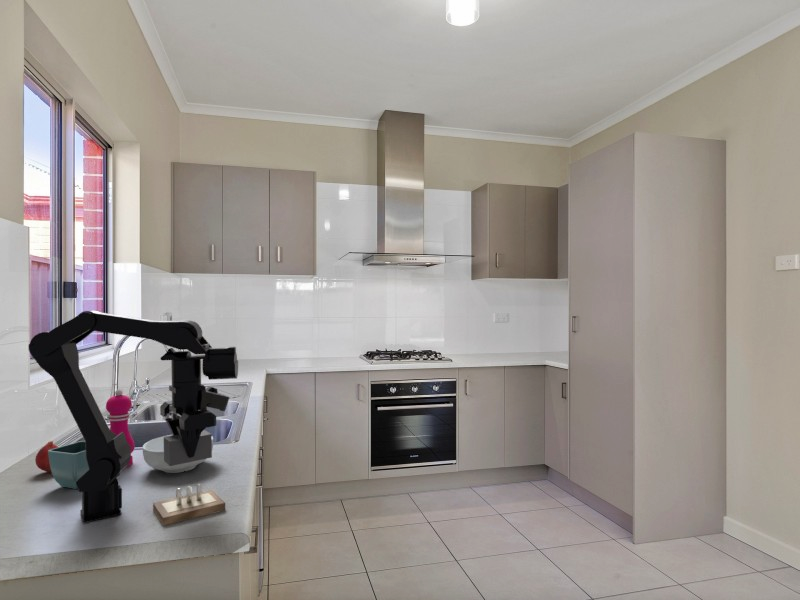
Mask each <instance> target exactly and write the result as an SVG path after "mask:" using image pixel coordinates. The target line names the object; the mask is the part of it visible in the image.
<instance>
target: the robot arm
mask: <svg viewBox="0 0 800 600" xmlns="http://www.w3.org/2000/svg"><path fill="white" fill-rule="evenodd" d="M94 332H99V333H100V332H101V333H106V334H115V335H119V336H120V335H121V336H128V337H132V338H133V337H135V338H140V339H141V338H142V339H147V340H151V341H155V342H157V343H159V344H162V345H165V346H167V347H170V348H168V349H167V351H166V352H165V353H164V354H163V355H162V356H161V357H160V359H159V360H161V361H171V385H170V384H169V385H168V391H169V392H171V400H167V401H164V402H163V403H162V404H160V406H159V407H160V408H159V409H160V410H159V412H160V413H159V414H160V416H162V417H163V418H164V417H167V415H168V417H167V418H164V420H165V423H166V424H167V427H168V428H169V430H170V432H171V435H178V434H179V436H180V438H181V441H182V443H183V446H184V448H185V451H186V453H187V456H188V457H189V458H191V457H194V455H195V451H196V448H197V444H198V441H199V437H200V435H201V432H202V431H203V430H205V429H207V428H211V427H215V426H217V416H216V414H214V413H213V412H212V411H209V410H208V408H210V409H216V410H219V411H220V412H221V411H222V412H226V410H227V406H228V403H229V400H230V397H229V396H228V395H225V394H222V393H219V392H218V388H216V387H213V386H207V388H206V386H205V384H202V374H203V375H204V376H205V377H207V378H208V380H213V381H214V380H235V379H236V380H237V379H238V375H239V360H238V354H237V347H236V346H227V347H212V345H211V344H210V343H209V342H208V340H207V339H206V338H205V336H203V330H202V327H201V326H200V324H199V323H197V322H196V321H193V320H152V319H146V318H140V317H139V318H138V317H132V316H131V317H130V316H125V315H119V314H112V313H107V312H101V311H98V310H84V311H81V312H80V313H78V314H77V316H75V317H73V318H71V319H69V320H67V321H65V322H63V323H62V324H60V325H58V326H57V327H55V328H53V329H52V330H49V331H48V330H47V331H43V332H39V333H37V334H35V335H34V336H33V337H32V338H31V339H30V342H29V344H28V351H29V355H31V357H32V358H33V360H34V361H35V362H36V363H37V364H38V365H39V367H40V368H41V369H42V370H44V372H46V373H47V374H48V375H49V376H51V377H52V378H53V379H54V381H55V383H56V386H57V387H58V389H59V391H60V394H61V396H62V397H63V399H64V401H65V404H66V405H67V407H68V410H69V412H70V415H72V417H73V420H74V421H75V423H76V425H77V428H78V430H79V431H80V433H81V435H82V437H83V441H85V443H86V460H87V464H88V467H89V470H88V471H87V472H86V473H85V474H84V475H83V476H82V477H81V478H80V479H79V480H78V481H77V482H76V485H77V487H78V488H77V490H78V492H80V493H81V509H80V511H79V512H80V515H81V518H82V522H83V523H89V522H93V521H99V520H102V519H105V518H110V517H114V516H119V515H121V513H122V512H121V509H122V508H123V489H122V487H121V485H120V482H119V480H118V477H120V476H121V473H122V471H123V470H124V469H125V468H126V466H127V465H128V464H129V461H130V459H131V456H132V453H130V450H131V449H132V447H131V446H130V445H129V444H128V443H127V441H126V437H125V434H124V433H123V432H122V433H120V434H119V435H116V434H115V433H113V432H112V431H111V430H110V427H109V425H108V424H107V421H106V419H105V418H104V416H103V414H102V412H101V410H100V408H99V406H98V403H97V402H96V400H95V398H94V396H93V393H92V392H91V390H90V387H89V385H88V383H87V380H86V379H85V377H84V376H83V373H82V372H81V369H80V357H79V354H80V353H79V350H78V349H79V348H78V347H77V344H79V343H81V342H82V341H84V340H85V339H87V337H89V336H90V335H91V334H92V333H94ZM175 349H177V350H179V351H176V350H175ZM184 350H185V351H184ZM192 353H193V354H192ZM201 362H202V363H201ZM127 467H128V466H127Z"/></svg>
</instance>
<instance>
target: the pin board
mask: <svg viewBox="0 0 800 600" xmlns="http://www.w3.org/2000/svg"><path fill="white" fill-rule="evenodd" d="M152 504H153V505H152V510H153V512H154V514H155V515H156V517H157V518H158V519H159V521H160V523H161V524H162V526H167V525H171V524H175V523H178V522H182V521H186V520H190V519H194V518H200V517H202V516H207V515H211V514H215V513H218V512H222V511H226V502H225V501H224V500H223V499H222V498H221V497H220V496H219V495H218V494H217V493H216V492H215V491H214V490H213V489H207V490H205V491H202V500H201V501H197V492H195V493H192V502H191V503H187V494H186V495H182V505H180V506H177V505H176V497H174V498H168V499H164V500H160V501H156V502H155V501H154V502H153V503H152Z"/></svg>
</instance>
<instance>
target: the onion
mask: <svg viewBox="0 0 800 600" xmlns="http://www.w3.org/2000/svg"><path fill="white" fill-rule="evenodd" d="M58 447H59V446H58V445H56V444H54V441H53V440H50V441H48V442H47V443H46V444H45V445H44V446H42V447H41V448H40V449H39V450H38V451H37V454H36V456H35V458H34V460H35V465H36V467H37V468H38V469H39V470H41V471H44V472H46V473H49V474H51V473H52V472H51V468H50V462H49V455H48V450H51V449H54V448H58Z"/></svg>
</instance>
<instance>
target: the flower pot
mask: <svg viewBox="0 0 800 600" xmlns="http://www.w3.org/2000/svg"><path fill="white" fill-rule="evenodd" d="M48 455H49V462H50V468H51V472H50V473H51V475H52V476H53V478H54V480H55V481H56V483H58V485H59V486H60V487H64V488H70V489H74V490H75V489H76V490H78V487H77V485H76V482H77V481H78V480H79V479H80V478H81V477H82V476H83V475H84V474H85V473H86V472H87V471H88V470H89V467H88V464H87V460H86V443H85V440H80V441H76V442H73V443H70V444H69V443H68V444H66V445H61V446H58V448H54V449H51V450H48Z"/></svg>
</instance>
